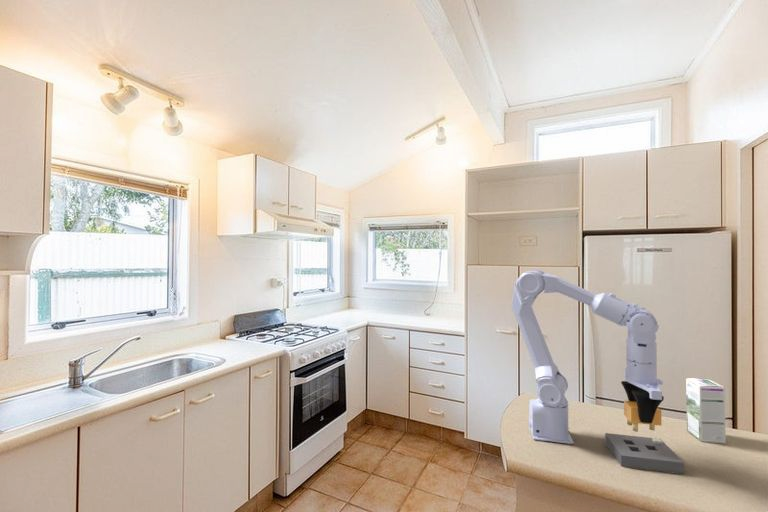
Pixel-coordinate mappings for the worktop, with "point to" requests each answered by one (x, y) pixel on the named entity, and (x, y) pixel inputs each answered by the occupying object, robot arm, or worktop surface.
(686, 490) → the worktop surface
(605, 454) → the worktop surface
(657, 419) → the plug
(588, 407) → the worktop surface
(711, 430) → the syrup box
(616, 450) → the socket
